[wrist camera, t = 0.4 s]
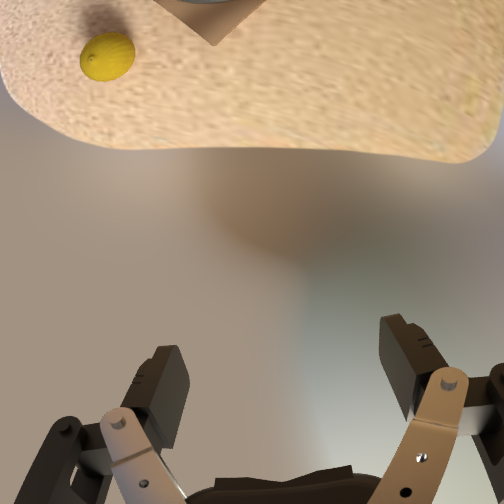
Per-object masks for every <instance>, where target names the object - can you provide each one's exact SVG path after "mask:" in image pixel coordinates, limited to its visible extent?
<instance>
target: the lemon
mask: <svg viewBox="0 0 504 504" xmlns="http://www.w3.org/2000/svg"><path fill="white" fill-rule="evenodd" d="M134 58H135V48H134V45H133V43H132V41H131V40H130V39H129V38H128V37H127V36H125V35H123V34H121V33H115V32H109V33H103V34H101V35H98V36H96V37H94V38H93V39H92V40H90V41H89V42H88V43H87V44H86V45H85V47H84V48H83V50H82V52H81V55H80V67H81V69H82V71H83V73H84V74H85V75H86V76H87V77H89V78H90V79H92V80H95V81H103V82H106V81H111V80H115V79H117V78H119V77H121V76H122V75H123V74H125V73H126V72H127V71H128V70H129V69H130V67H131V66H132V64H133V62H134Z"/></svg>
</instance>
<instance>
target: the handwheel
mask: <svg viewBox="0 0 504 504" xmlns="http://www.w3.org/2000/svg"><path fill="white" fill-rule="evenodd" d="M177 1H180V2H185V3H191V4H217V3H224V2H229V1H234V0H177Z"/></svg>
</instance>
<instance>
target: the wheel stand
mask: <svg viewBox="0 0 504 504" xmlns="http://www.w3.org/2000/svg"><path fill="white" fill-rule="evenodd" d="M154 1H155V2H156V3H158V4H159V5H161V6H162V7H163V8H165V9H166V10H167V11H169V12H170V13H172V14H173V15H174V16H176V17H177V18H178V19H179V20H181V21H182V22H183V23H185V24H186V25H187V26H189V27H190V28H191V29H192V30H194V31H195V32H196V33H197V34H199V35H200V36H201V37H202V38H204V39H205V40H206V41H207V42H208V43H210V44H211V45H212V46H216V45H217V44H218V43H219V42H220V41H221V40H222V39H223V38H224V37H225V36H226V35H227V34H228V33H229V32H231V31H232V30H233V29H234V28H235V27H236V26H237V25H238V24H239V23H240V22H242V21H243V20H244V19H245V18H246V17H247V16H248V15H250V14H251V13H252V12H253V11H254V10H255V9H257V8H258V7H259V6H260V5H261V4H262V3H264V2H265V1H266V0H234V1H229V2H224V3H217V4H191V3H185V2H180V1H177V0H154Z"/></svg>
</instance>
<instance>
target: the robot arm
mask: <svg viewBox="0 0 504 504" xmlns="http://www.w3.org/2000/svg"><path fill="white" fill-rule="evenodd" d="M379 356H380V360H381V364H382V366H383V368H384V371H385V373H386V375H387V377H388V379H389V382H390V384H391V386H392V389H393V391H394V393H395V396H396V398H397V400H398V403H399V405H400V407H401V410H402V412H403V415H404V417H405V419H406V422H409V421H411V422H410V424H409V426H408V428H407V430H406V433H405V435H404V437H403V439H402V441H401V443H400V445H399V447H398V449H397V451H396V453H395V455H394V457H393V459H392V461H391V463H390V465H389V467H388V469H387V471H386V472H385V474H384V476H383V478H379V477H376V476H372V475H367V474H359V473H357V474H356V473H353V471H352V466H351V465H348V466H343V467H337V468H332V469H326V470H319V471H315V472H313V473H310V474H307V475H304V476H301V477H298V478H295V479H292V480H289V481H285V482H277V481H268V480H262V479H255V478H249V477H244V478H215V485H214V487H210V488H207V489H203V490H201V491H198V492H196V493H194V494H192V495H191V496H189V497H188V496H187V495H186V494H185V492H184V491H183V489H182V488H181V487H180V485H179V484H178V482H177V480H176V479H175V478H174V476H173V474H172V473H171V471H170V470H169V468H168V467H167V465H166V463H165V462H164V460H163V458H162V457H161V455H160V453H161V450H162V448H169V449H171V448H172V449H173V446H174V442H175V438H176V434H177V431H178V427H179V423H180V420H181V416H182V413H183V409H184V405H185V402H186V398H187V394H188V391H189V387H190V380H189V375H188V372H187V369H186V366H185V364H184V361H183V358H182V356H181V353H180V350H179V348H178V346H177V345H169V346H159V347H157V349H156V351H155V353H154V355H153V358H152V359H147V360H146V361H145V362H144V363H143V364H142V365H141V366H140V367H139V369H138V371H137V373H136V375H135V376H136V377H134V379H133V381H132V384H131V385H130V387H129V389H128V392H127V393H126V396H125V398H124V400H123V402H122V404H121V406H120V407H119V408H115V409H112V410H110V411H109V412H107V413H106V414H105V415H104V416H103V417H102V419H101V421H100V423H94V424H89V425H82V423H81V422H80V421H79V419H78V418H76V417H73V416H66V417H63V418H61V419H59V420H57V421H56V422H55V423H54V424H53V426H52V427H51V429H50V431H49V433H48V435H47V436H46V438H45V440H44V442H43V444H42V446H41V448H40V450H39V452H38V454H37V456H36V458H35V460H34V462H33V464H32V466H31V468H30V470H29V472H28V474H27V476H26V478H25V480H24V482H23V485H22V487H21V489H20V491H19V493H18V495H17V498H16V500H15V502H14V504H104V503H105V500H106V496H107V492H108V490H109V486H110V483H111V480H112V476H113V475H114V477H115V480H116V482H117V485H118V487H119V489H120V491H121V494H122V496H123V498H124V500H125V503H126V504H432V501H433V499H434V497H435V495H436V492H437V490H438V487H439V485H440V483H441V480H442V477H443V475H444V472H445V469H446V467H447V464H448V461H449V458H450V456H451V452H452V449H453V446H454V443H455V440H456V437H457V436H467V435H471V436H472V438H473V440H474V443H475V445H476V447H477V450H478V452H479V454H480V457H481V459H482V462H483V464H484V466H485V469H486V471H487V474H488V477H489V479H490V482H491V485H492V487H493V490H494V493H495V495H496V498H497V501H498V504H504V363H500V364H498V365H496V366H494V367H493V368H492V370H491V372H490V375H489V376H487V377H474V378H469V377H467V375H466V374H465V373H464V372H463V371H462V370H460V369H457V368H454V367H449V366H448V364H447V363H446V361H445V360H444V358H443V357H442V355H441V354H440V352H439V351H438V349H437V348H436V347H435V345H433V342H432V341H431V339H429V337H428V335H427V334H426V333H425V331H424V330H423V329H422V328H421V327H419V326H417V325H416V324H414V323H411V324H407V323H406V322H405V320H404V319H403V317H402V316H401V315H400V314H394V315H389V316H384V317H381V319H380V334H379ZM75 466H76V467H77V468H78V469H77V472H76V475H75V477H74V480H73V482H72V485H71V486H70V478H71V475H72V473H73V470H74V468H75Z"/></svg>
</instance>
